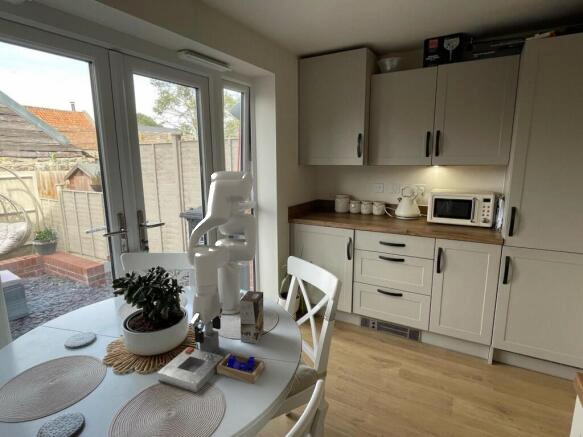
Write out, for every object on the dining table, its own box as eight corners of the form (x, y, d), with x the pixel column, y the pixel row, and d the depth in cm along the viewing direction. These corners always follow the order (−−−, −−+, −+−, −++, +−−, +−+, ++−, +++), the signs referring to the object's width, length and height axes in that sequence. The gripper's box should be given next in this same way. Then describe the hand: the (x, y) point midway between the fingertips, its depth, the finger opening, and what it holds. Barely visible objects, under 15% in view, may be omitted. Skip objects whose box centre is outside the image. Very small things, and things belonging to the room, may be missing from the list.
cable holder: (227, 373, 100) (226, 361, 99) (230, 365, 103) (230, 354, 102) (252, 375, 99) (251, 363, 98) (254, 368, 102) (254, 356, 101)
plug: (208, 344, 115) (206, 318, 113) (218, 346, 113) (218, 320, 111) (200, 351, 110) (198, 324, 109) (211, 354, 109) (210, 327, 107)
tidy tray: (230, 359, 106) (230, 352, 106) (264, 368, 102) (264, 361, 101) (217, 373, 99) (216, 365, 99) (253, 383, 95) (253, 376, 94)
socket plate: (188, 353, 109) (188, 345, 108) (223, 363, 104) (223, 354, 103) (157, 379, 96) (157, 370, 95) (196, 392, 91) (196, 382, 91)
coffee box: (257, 343, 115) (256, 302, 112) (240, 341, 116) (239, 300, 113) (264, 330, 124) (264, 291, 121) (248, 328, 125) (247, 289, 122)
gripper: (212, 277, 116) (213, 321, 119) (180, 295, 101) (182, 345, 103) (230, 280, 114) (231, 325, 117) (200, 299, 98) (201, 350, 101)
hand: (208, 335), depth 110 cm, fingers open, 9 cm apart
